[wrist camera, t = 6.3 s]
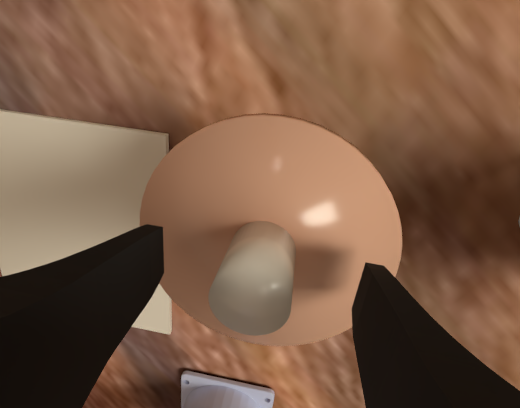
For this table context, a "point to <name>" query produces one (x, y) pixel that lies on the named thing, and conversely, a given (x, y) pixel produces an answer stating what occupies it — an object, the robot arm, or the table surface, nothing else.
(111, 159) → the mat
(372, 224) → the lid
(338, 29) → the table surface
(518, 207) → the table surface
